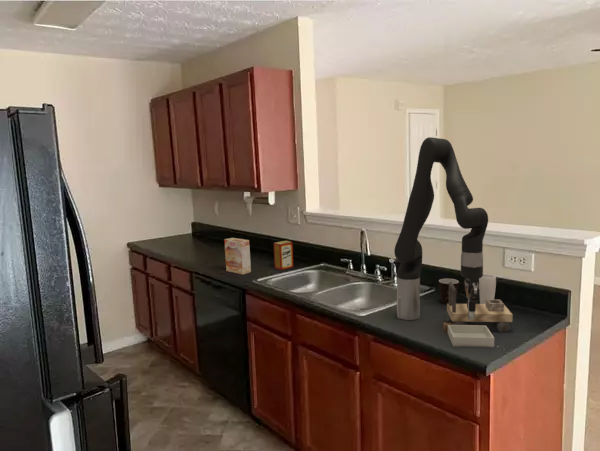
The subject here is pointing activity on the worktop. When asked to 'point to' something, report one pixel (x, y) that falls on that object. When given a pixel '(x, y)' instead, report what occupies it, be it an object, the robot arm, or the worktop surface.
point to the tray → (470, 336)
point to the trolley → (479, 312)
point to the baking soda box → (283, 255)
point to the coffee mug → (445, 289)
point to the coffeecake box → (237, 255)
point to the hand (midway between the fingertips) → (471, 309)
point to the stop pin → (470, 314)
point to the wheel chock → (446, 326)
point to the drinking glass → (487, 287)
